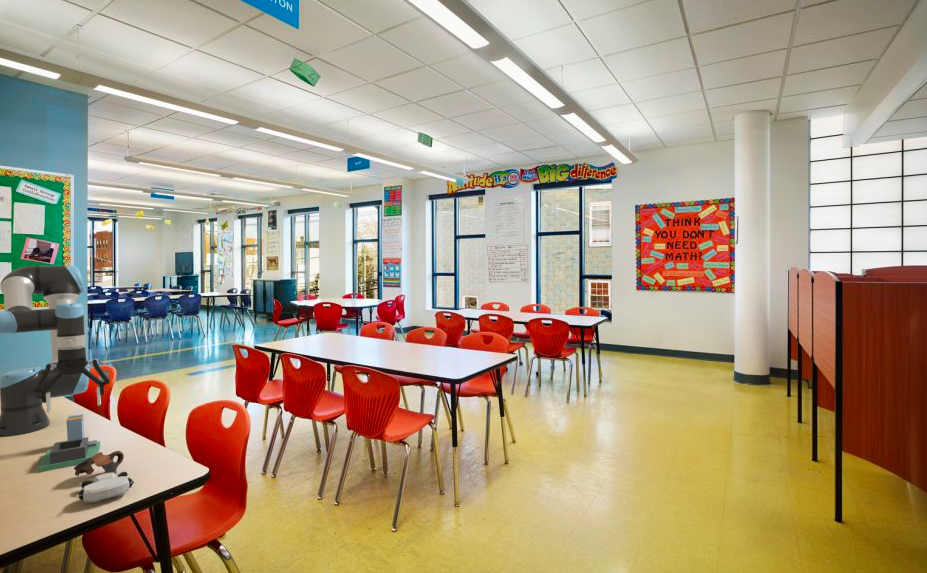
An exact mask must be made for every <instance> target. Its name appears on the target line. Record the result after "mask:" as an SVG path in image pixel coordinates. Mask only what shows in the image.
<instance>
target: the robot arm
mask: <svg viewBox="0 0 927 573" xmlns="http://www.w3.org/2000/svg"><path fill="white" fill-rule="evenodd" d="M84 290H85V288H84V280H83V277H82V274H81V271H80V269H79V268H78V267H77V266H75V265H64V264H63V265H27V266H23V267H19V268H16V269H14V270H13V271H11V272H9V273H8V274H6V275H5V276H4V277H3V279H2V280H1V282H0V291H1V293H2V295H3V297H4V298H3V300H4V301H3V302H4V303H3V305H4V307H3V309H4V311H0V334H17V333H18V334H19V333H20V334H21V333H30V332H41V331H42V332H45V331H49V332H50V346H51V360H50V361H49V362H48V363H47V364H46V365H45V368H43V369H42V368H41V366H39V365H38V366H37V365H35V366H27V367H21V368H17V369H14V370H10V371H8V372H5V373H3V374H1V375H0V436H2V437H6V436H17V435H22V434H23V435H24V434H28V433H32V432H35V431H39V430H42V429H44V428H47V427H49V425H50V418H49V416H48V414H49V413H51V412H52V403H51V399H52V398H58V397H60V398H61V397H66V396H73V395H77V394H83V393H85V392H87V390H88V387H89V384H90V383H89V381H90V380H91V381H93V382H94V383H95V384H96V385H97V387H96V396H97V398H96V399H97V406H101V404H102V401H101V396H104V394H105V386H106V385H109V384H110V382H111V380H110V378H109V377H108V376H107V374H106V372H104V370H103V369H102V367H101V366H100V365H99V361H98V359H97V358H93V359H90V360H87V350H86V347H85V346H86V334H85V311H84V305H83V303H79V302H76V301H77V300H78V299H79V298H80V294H82V293H84ZM33 295H42V298H43V300H44V301H46V302H47V303H48V308H47V309H45V308H43V309H34V304H33ZM90 366H91V367H94V369H95V371H96V372H97V374H98V375H99V376H100V378H101V379H100V378H98V376H96V375H94V373H92V372H91V371H90V368H91V367H90ZM44 403H45V404H46V406H45V407H46V410H45V408H44V406H43V404H44ZM47 413H48V414H47Z"/></svg>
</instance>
